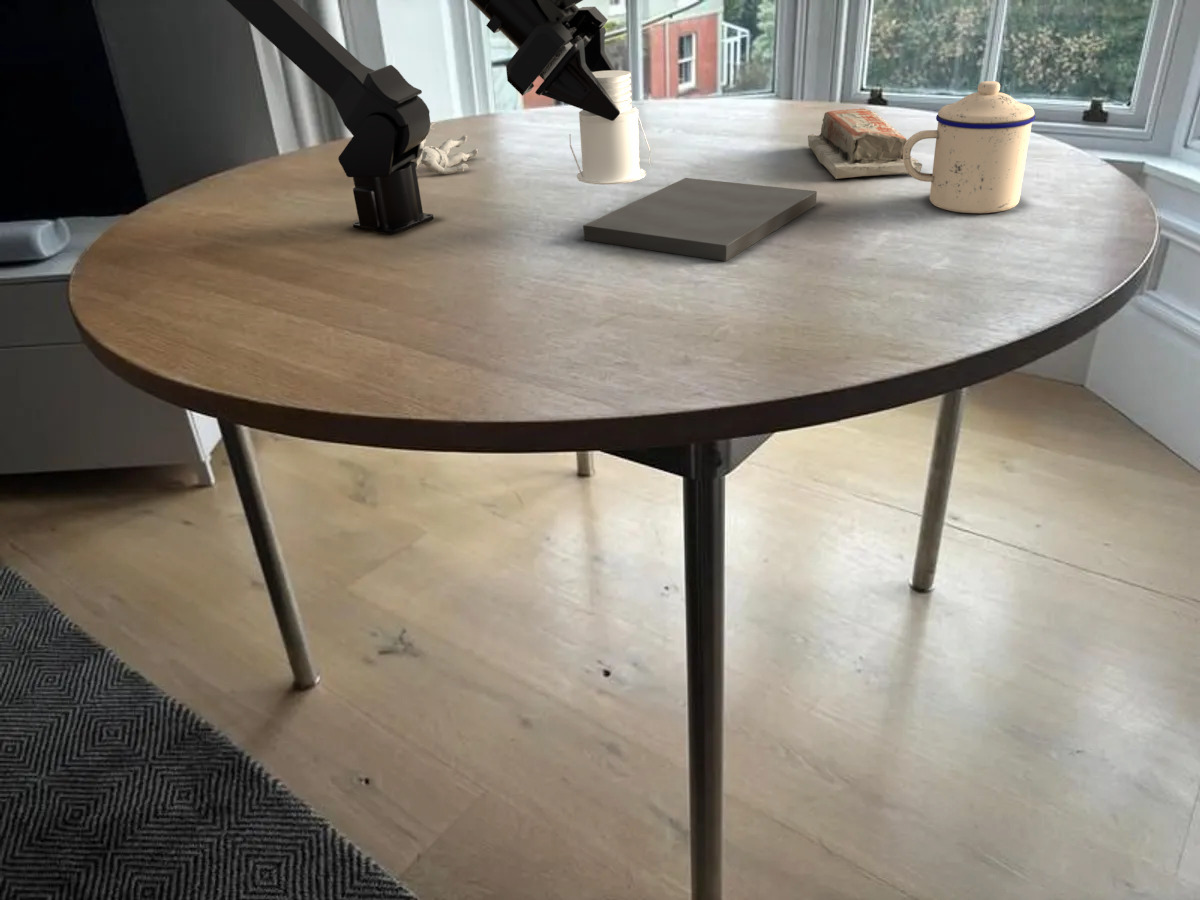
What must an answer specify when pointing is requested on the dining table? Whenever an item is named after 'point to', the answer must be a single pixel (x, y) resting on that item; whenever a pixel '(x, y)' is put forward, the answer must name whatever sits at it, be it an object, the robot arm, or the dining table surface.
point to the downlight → (611, 136)
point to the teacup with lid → (977, 152)
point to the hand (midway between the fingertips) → (623, 111)
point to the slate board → (701, 218)
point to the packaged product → (859, 145)
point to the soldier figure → (443, 156)
